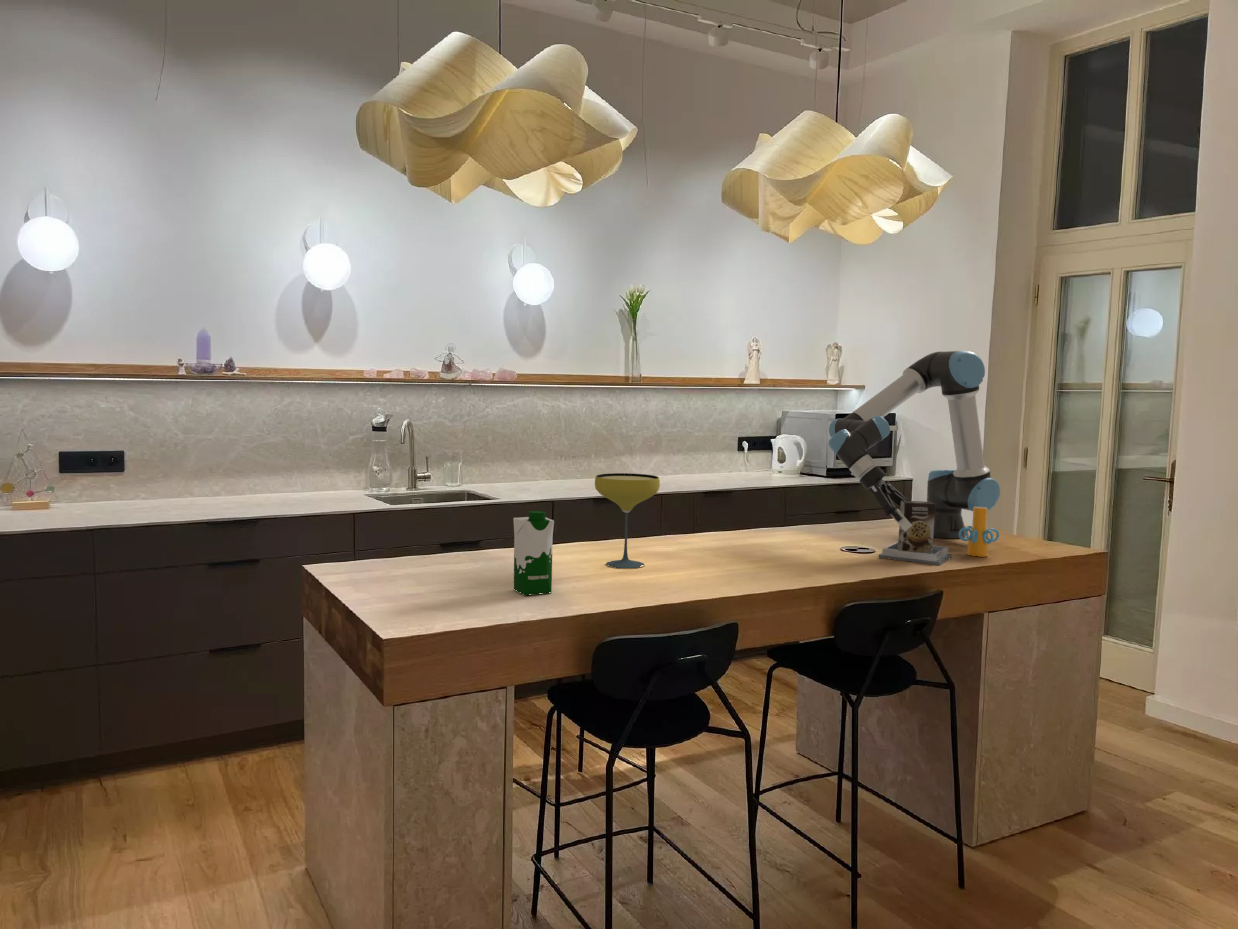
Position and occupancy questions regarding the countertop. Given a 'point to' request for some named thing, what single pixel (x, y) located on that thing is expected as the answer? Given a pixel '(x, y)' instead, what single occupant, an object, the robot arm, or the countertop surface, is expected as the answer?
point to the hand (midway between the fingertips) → (914, 525)
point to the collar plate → (916, 555)
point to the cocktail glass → (626, 500)
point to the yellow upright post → (978, 533)
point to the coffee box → (917, 527)
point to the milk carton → (533, 553)
